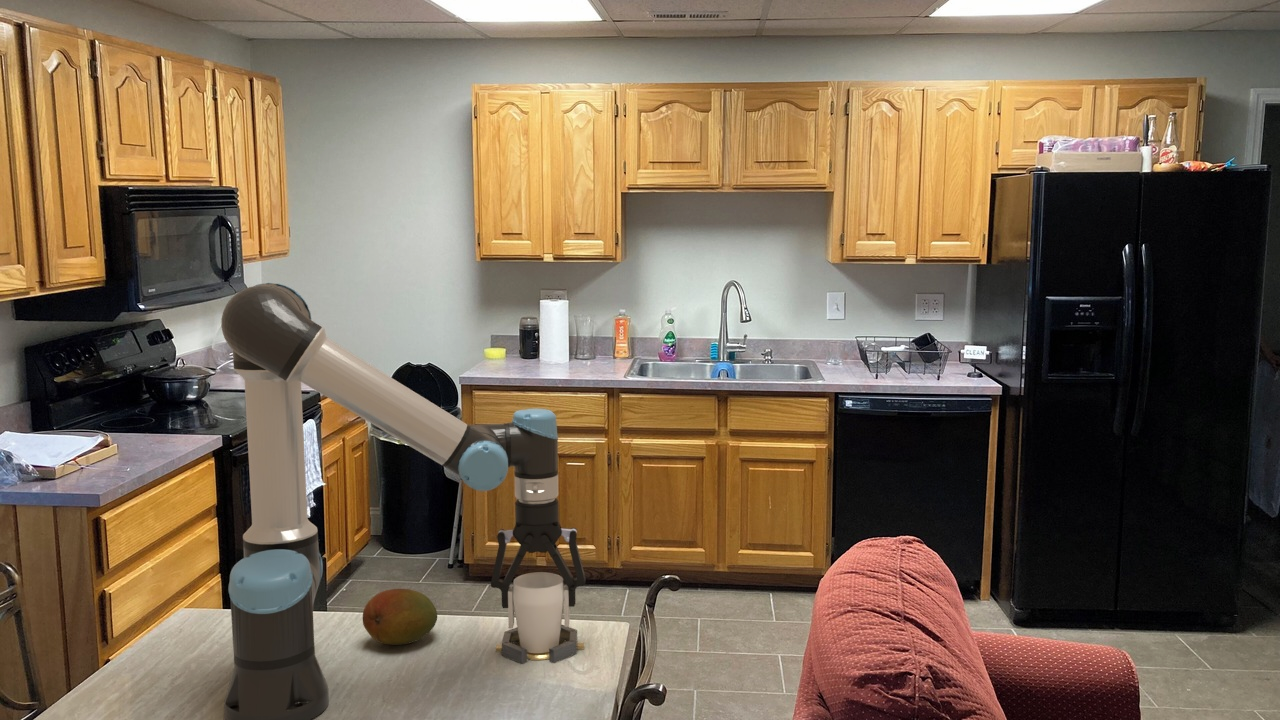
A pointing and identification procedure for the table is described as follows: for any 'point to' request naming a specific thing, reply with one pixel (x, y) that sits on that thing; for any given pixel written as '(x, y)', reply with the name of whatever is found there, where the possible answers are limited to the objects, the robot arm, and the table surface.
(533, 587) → the cup
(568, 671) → the table surface
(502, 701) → the table surface
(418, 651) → the table surface
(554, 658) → the socket
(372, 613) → the fruit
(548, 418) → the robot arm
